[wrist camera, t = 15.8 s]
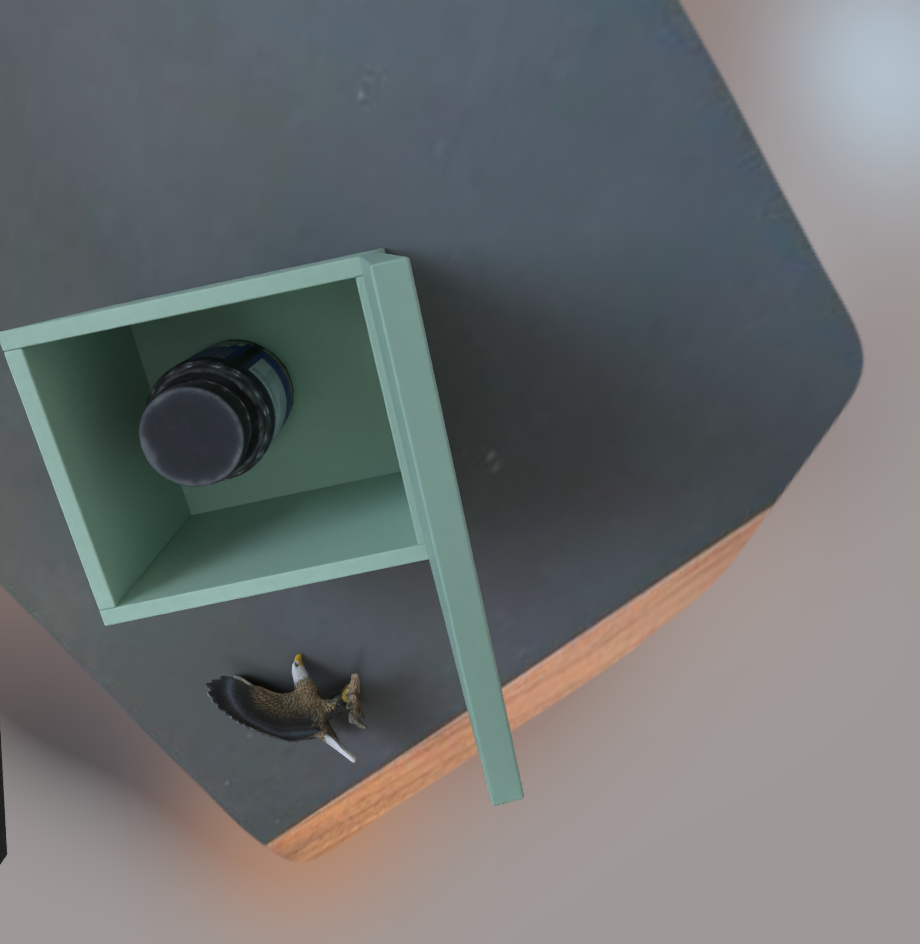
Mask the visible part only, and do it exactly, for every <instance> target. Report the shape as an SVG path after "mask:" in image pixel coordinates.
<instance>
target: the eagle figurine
mask: <svg viewBox="0 0 920 944" xmlns="http://www.w3.org/2000/svg"><path fill="white" fill-rule="evenodd" d="M301 656H302V655H301V654H297V655H296V657H295V660H294V663H293V665H292V675H293V680H294V685H295V690H294V691H292V692H288V693H276V692H273V691H270V690H268V689H266V688H263V687H261V686H254V685H252V684H251V683H250V682H248V681H246V680H245V679H244V678H242V677H240V676H238V675H234V677H233V678H232V677H227V676H221V677H220V680H215V679H214V680H211V683H206V687H207V689H208V690H210V691H209V692H208V693H207V695H208V696H209V697H210V698H211V701H212V702H213V703H214V704H216V705H217V709H218V710H220V711H222V712H224V714H225V715H226V716H229V717H230V718H231V719H232V720H233V721H236V722H237V723H238V724H240V725H244V727H245V728H249V729H251V730H254V731H257V732H260V733H262V734H263V735H268V736H269V737H273V738H276V739H280V740H284V741H288V742H301V741H304V740H307V739H308V740H309V739H313V738H316V737H317V738H319V739H320V740H322V741H324V742H325V743H327V744H329V745H330V746H332V747H333V748H335V749H336V750H337V751H339V752H340V753H341V754H342V755H344V756H345V757H346V758H348V759H349V760H350V761H352V762H354V763H355V761H356V758H355V756H354V755H353V754H352V753H351V752H350V751H349V750H348V749H347V748H346V747H345V746H344V745H343V744H342V743H341V742H340V740H339V739H338V737H337V735H336V733H335V732H334V731H333V729H332V727H331V725H330V724H329V721H328V720H330V719H331V718H332V717H334V716H335V715H337V714H340V713H341V712H343V711H346V710H348V709H349V722H350V723H352V724H355V725H356V726H358V727H359V728H361V729H367V726H365V725H364V724H363V723H362V722H361V721H360V720H359V717H360V718H361V719H362V720H364V718H365V714H364V712H363V711H361V705H360V703H359V693H360V681H359V679H360V676H359V674H358V673H355V674H352V675H351V682H350V684H348V685H346V686H345V687H344V688H343V690H342V691H340V692H338V693H337V694H335V695H333V696H329V697H327V698H322V697H320V694H319V692H318V689H317V687H316V685H315V683H314V681H313V680H312V679H311V678H310V676H309V675H308V673H307V672H306V670H305V667H304V665H303V663H302V659H301Z"/></svg>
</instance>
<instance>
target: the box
mask: <svg viewBox="0 0 920 944" xmlns="http://www.w3.org/2000/svg"><path fill="white" fill-rule="evenodd" d="M376 252H380V253H385V249H384V248H380V249H375V250H371V251H366V252H361V253H356V254H352V255H347V256H342V257H337V258H333V259H328V260H323V261H319V262H314V263H309V264H304V265H300V266H295V267H290V268H285V269H281V270H276V271H271V272H267V273H262V274H257V275H252V276H248V277H243V278H238V279H233V280H229V281H224V282H219V283H215V284H210V285H205V286H200V287H196V288H191V289H186V290H181V291H177V292H172V293H167V294H163V295H158V296H153V297H148V298H144V299H139V300H134V301H129V302H125V303H120V304H115V305H111V306H107V307H103V308H98V309H94V310H90V311H86V312H82V313H77V314H73V315H69V316H65V317H60V318H56V319H52V320H48V321H44V322H39V323H35V324H31V325H27V326H22V327H18V328H14V329H10V330H6V331H1V332H0V343H1V346H2V349H3V351H6V352H4V354H5V357H6V359H7V362H8V365H9V367H10V370H11V373H12V375H13V378H14V381H15V384H16V386H17V389H18V392H19V394H20V397H21V400H22V402H23V405H24V408H25V411H26V413H27V416H28V419H29V421H30V424H31V427H32V429H33V432H34V435H35V438H36V440H37V443H38V446H39V448H40V451H41V454H42V456H43V459H44V462H45V465H46V467H47V470H48V473H49V475H50V478H51V481H52V484H53V486H54V489H55V492H56V494H57V497H58V500H59V502H60V505H61V508H62V511H63V513H64V516H65V519H66V521H67V524H68V527H69V529H70V532H71V535H72V538H73V540H74V543H75V546H76V548H77V551H78V554H79V556H80V559H81V562H82V565H83V567H84V570H85V573H86V575H87V578H88V581H89V583H90V586H91V589H92V592H93V594H94V597H95V600H96V602H97V605H98V608H99V610H100V613H101V616H102V619H103V622H104V624H105V626H107V625H112V624H117V623H122V622H127V621H132V620H136V619H141V618H146V617H151V616H156V615H161V614H166V613H170V612H175V611H180V610H185V609H190V608H195V607H199V606H204V605H209V604H214V603H219V602H224V601H229V600H233V599H238V598H243V597H248V596H253V595H258V594H262V593H267V592H272V591H277V590H282V589H287V588H292V587H296V586H301V585H306V584H311V583H316V582H321V581H325V580H330V579H335V578H340V577H345V576H350V575H355V574H359V573H364V572H369V571H374V570H379V569H384V568H388V567H393V566H398V565H403V564H408V563H413V562H418V561H422V560H427V559H429V557H428V553H427V548H426V544H425V540H424V535H423V531H422V527H421V522H420V518H419V514H418V509H417V505H416V501H415V496H414V492H413V488H412V484H411V479H410V475H409V471H408V466H407V462H406V458H405V453H404V449H403V445H402V440H401V436H400V432H399V427H398V423H397V419H396V414H395V410H394V406H393V401H392V397H391V393H390V388H389V384H388V380H387V375H386V371H385V367H384V362H383V358H382V354H381V350H380V345H379V341H378V337H377V332H376V328H375V324H374V319H373V315H372V311H371V306H370V302H369V298H368V293H367V289H366V285H365V280H364V276H363V272H362V267H361V263H360V259H359V257H360V256H362V255H367V254H372V253H376ZM227 340H246V341H251V342H254V343H257V344H258V345H260V346H262V347H264V348H266V349H267V350H269V351H270V352H272V353H273V354H275V355H276V356H277V357H278V358H279V359H280V361H281V362H282V363H283V364H284V365H285V367H286V368H287V370H288V373H289V376H290V378H291V381H292V385H293V392H294V393H293V406H292V409H291V412H290V414H289V417H288V419H287V420H286V422H285V424H284V425H283V427H282V428H281V430H280V431H279V433H278V434H277V436H276V437H275V439H274V440H273V442H272V443H271V445H270V446H269V448H268V450H267V451H266V453H265V454H264V455H263V457H262V458H261V460H260V461H259V462H258V463H256V465H254V467H252V468H251V469H250V470H249V471H247V472H245V473H244V474H242V475H240V476H237V477H234V478H232V479H228V480H224V481H219V482H217V483H215V484H211V485H207V486H199V487H191V486H184V485H181V484H177V483H174V482H172V481H170V480H168V479H167V478H165V477H164V476H162V475H161V474H159V473H158V472H157V471H156V470H155V469H154V468H153V467H152V466H151V465H150V463H149V462H148V461H147V459H146V457H145V455H144V453H143V451H142V448H141V444H140V439H139V426H140V421H141V418H142V415H143V413H144V411H145V408H146V402H147V399H148V396H149V394H150V392H151V389H152V387H153V386H154V385H155V383H156V382H157V381H158V379H159V378H160V377H161V376H162V375H163V374H164V373H165V372H167V371H168V370H169V369H171V368H173V367H174V366H176V365H177V364H179V363H181V362H183V361H185V360H187V359H188V358H190V357H192V356H193V355H195V354H197V353H199V352H201V351H202V350H204V349H206V348H208V347H209V346H212V345H214V344H217V343H219V342H223V341H227Z"/></svg>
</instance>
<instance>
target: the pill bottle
mask: <svg viewBox="0 0 920 944" xmlns="http://www.w3.org/2000/svg"><path fill="white" fill-rule="evenodd" d="M293 393H294V392H293V385H292V381H291V378H290V376H289V373H288V370H287V368H286V367H285V365H284V364H283V363H282V362H281V361H280V359H279V358H278V357H277V356H276V355H275V354H273V353H272V352H270V351H269V350H267V349H266V348H264V347H262V346H260V345H258V344H257V343H254V342H251V341H246V340H227V341H223V342H219V343H217V344H214V345H212V346H209V347H208V348H206V349H204V350H202V351H201V352H199V353H197V354H195V355H193V356H192V357H190V358H188V359H187V360H185V361H183V362H181V363H179V364H177V365H176V366H174V367H173V368H171V369H169V370H168V371H167V372H165V373H164V374H163V375H162V376H161V377H160V378H159V379H158V381H157V382H156V383H155V385H154V386H153V387H152V389H151V392H150V394H149V396H148V399H147V402H146V408H145V411H144V413H143V415H142V418H141V421H140V426H139V439H140V444H141V448H142V451H143V453H144V455H145V457H146V459H147V461H148V462H149V463H150V465H151V466H152V467H153V468H154V469H155V470H156V471H157V472H158V473H159V474H161V475H162V476H164V477H165V478H167V479H168V480H170V481H172V482H174V483H177V484H181V485H184V486H191V487H199V486H207V485H211V484H215V483H217V482H219V481H224V480H228V479H232V478H234V477H237V476H240V475H242V474H244V473H245V472H247V471H249V470H250V469H251V468H252V467H254V465H256V463H258V462H259V461H260V460H261V458H262V457H263V455H264V454H265V453H266V451H267V450H268V448H269V446H270V445H271V443H272V442H273V440H274V439H275V437H276V436H277V434H278V433H279V431H280V430H281V428H282V427H283V425H284V424H285V422H286V420H287V419H288V417H289V414H290V412H291V409H292V406H293Z"/></svg>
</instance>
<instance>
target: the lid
mask: <svg viewBox="0 0 920 944" xmlns="http://www.w3.org/2000/svg"><path fill="white" fill-rule="evenodd" d="M359 259H360V263H361V267H362V272H363V276H364V280H365V285H366V289H367V293H368V298H369V302H370V306H371V311H372V315H373V319H374V324H375V328H376V332H377V337H378V341H379V345H380V350H381V354H382V358H383V362H384V367H385V371H386V375H387V380H388V384H389V388H390V393H391V397H392V401H393V406H394V410H395V414H396V419H397V423H398V427H399V432H400V436H401V440H402V445H403V449H404V453H405V458H406V462H407V466H408V471H409V475H410V479H411V484H412V488H413V492H414V496H415V501H416V505H417V509H418V514H419V518H420V522H421V527H422V531H423V535H424V540H425V544H426V548H427V553H428V557H429V561H430V565H431V569H432V573H433V577H434V581H435V585H436V589H437V593H438V597H439V600H440V604H441V608H442V612H443V616H444V620H445V624H446V628H447V632H448V635H449V639H450V643H451V647H452V651H453V655H454V659H455V663H456V667H457V670H458V674H459V678H460V682H461V686H462V690H463V694H464V698H465V702H466V706H467V709H468V713H469V717H470V721H471V725H472V729H473V733H474V737H475V741H476V744H477V748H478V752H479V756H480V760H481V764H482V768H483V771H484V776H485V779H486V783H487V787H488V791H489V795H490V799H491V803H492V804H493V806H496V805H500V804H504V803H508V802H512V801H515V800H519V799H522V798H523V797H524V793H523V788H522V783H521V779H520V774H519V769H518V764H517V760H516V755H515V750H514V746H513V741H512V736H511V732H510V727H509V722H508V718H507V713H506V708H505V704H504V699H503V694H502V690H501V685H500V680H499V675H498V671H497V666H496V661H495V657H494V652H493V647H492V643H491V638H490V633H489V629H488V624H487V619H486V615H485V610H484V605H483V601H482V596H481V591H480V587H479V582H478V577H477V572H476V568H475V563H474V558H473V554H472V549H471V544H470V540H469V535H468V530H467V526H466V521H465V516H464V512H463V507H462V502H461V498H460V493H459V488H458V483H457V479H456V474H455V469H454V465H453V460H452V455H451V451H450V446H449V441H448V437H447V432H446V427H445V423H444V418H443V413H442V409H441V404H440V399H439V394H438V390H437V385H436V380H435V376H434V371H433V366H432V362H431V357H430V352H429V348H428V343H427V338H426V334H425V329H424V324H423V320H422V315H421V310H420V306H419V301H418V296H417V291H416V287H415V282H414V277H413V273H412V268H411V263H410V259H409V258H408V257H404V256H398V255H392V254H386V253H380V252H376V253H372V254H367V255H362V256H360V257H359Z"/></svg>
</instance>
